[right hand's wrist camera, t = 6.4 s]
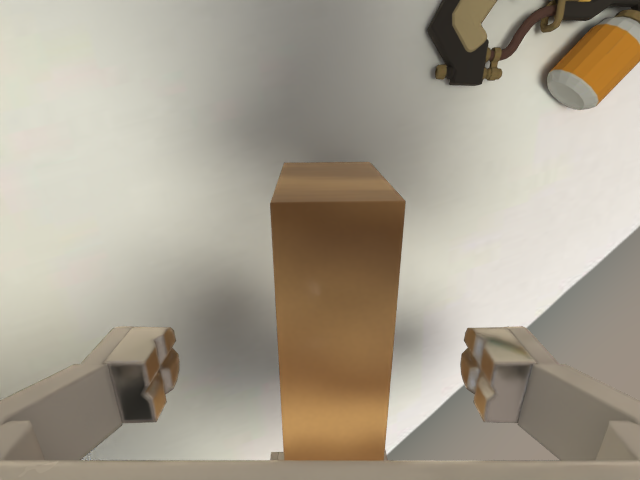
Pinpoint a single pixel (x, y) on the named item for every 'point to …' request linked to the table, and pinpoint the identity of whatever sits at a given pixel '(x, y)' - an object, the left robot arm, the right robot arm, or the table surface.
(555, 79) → the spray gun
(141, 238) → the table surface
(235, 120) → the table surface
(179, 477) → the right robot arm
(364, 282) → the bar
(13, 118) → the table surface
